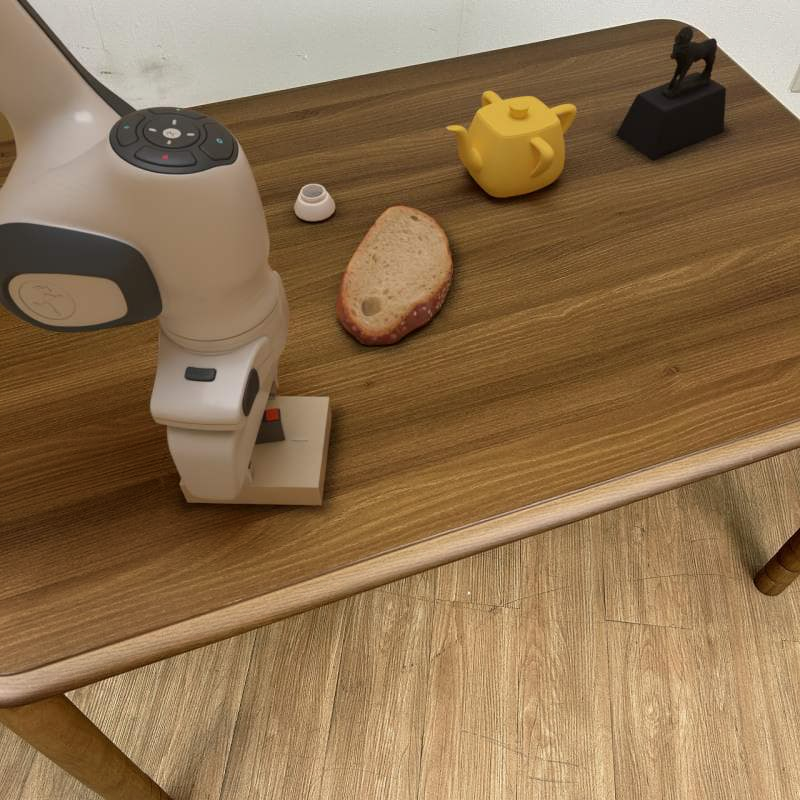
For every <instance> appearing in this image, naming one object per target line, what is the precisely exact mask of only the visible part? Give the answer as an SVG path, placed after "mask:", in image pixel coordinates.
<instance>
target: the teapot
mask: <svg viewBox="0 0 800 800" xmlns="http://www.w3.org/2000/svg"><path fill="white" fill-rule="evenodd" d="M577 111H578V109H577V107H576V105H574V104H572V103H564V104H560V105H559V104H558V105H557V106H554V107H551V108H550V107H548V106H547V105H546V103H544V102H543V101H541V100H540V99H538V98H537V97H535V96H532V95H529V96H528V95H524V96H523V95H522V96H516V97H509V98H506V99H502V98H501V97H500V96H499V95H498V94H497V93H496V92H494V91H492V90H486V91H484V92H483V93H482V95H481V108H479V109H478V110H477V111H476V113H475V115H474V117H473V119H472V121H471V122H470V125H469V128H468V130H467V129H466V128H465V127H464V126H462V125H458V124H452V125H448V126H446V128H445V129H446V130H448V131H450V132H452V133H454V134H455V135H456V139H457V151H458V153H457V154H458V157H459V160H460V162H461V163H462V164H463V166H464V167H465V168H466V170H467V172H468V174H469V175H470V176H471V178H472V179H473V180H474V181H475V183H477V184H478V186H479V187H480V188H481V189H482V190H484V192H485V193H487V194H488V195H489V196H491V197H494V198H509V197H515V196H521V195H527V194H529V193H532V192H535V191H538V190H540V189H543V188H545V187H547V186H549V185H550V184H553V183H554V182H555V181H556V180H557V179H558V178H559V176H560V175H561V174H562V172H563V170H564V168H565V158H566V146H565V145H566V143H565V139H564V138H565V137H564V135H565V134H566V132H567V131H568V130H569V129H570V127H571V126H572V124H573V122H574V121H575V118H576V116H577V113H578V112H577ZM559 116H561V119H560V118H559Z"/></svg>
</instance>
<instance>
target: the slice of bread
mask: <svg viewBox="0 0 800 800" xmlns="http://www.w3.org/2000/svg"><path fill="white" fill-rule="evenodd" d="M453 264H454V263H453V260H452V252H451V248H450V242H449V239H448V237H447V235H446V233H445V231H444V229H443V228H442V227H441V225H440V224H439V222H438V221H436V219H434V218H433V217H432V216H430V215H429V214H427V213H425V212H423V211H421V210H420V209H418V208H414V207H410V206H405V205H395V206H391V207H388V208H387V209H386V210H385V211H384V212H383V213H381V215H380V216H378V217H377V218H376V219H375V221H374V223H373V225H371V226H370V228H369V230H368V231H367V232H366V234H365V235H364V237H363V238H362V240H361V241H360V243H359V244H358V245H357V247H356V249H355V251H354V253H353V255H352V256H351V258H350V260H349V262H348V263H347V265H346V268H345V269H344V272H343V275H342V278H341V280H340V282H339V287H338V291H337V295H336V300H335V314H336V316H337V318H338V320H339V322H340V324H341V325H342V326H343V328H344V329H345V330H346V331H347V332H348V333H349V334H351V335H352V336H353V337H354V338H355V339H356V340H357V341H358V342H359V343H360V344H362V345H365V346H377V345H380V346H385V345H392V344H395V343H398V342H399V341H400V340H401V339H403V338H404V337H405V336H406V335H408V334H409V333H410V332H412V331H413V330H416V329H418V328H420V327H422V326H424V325H426V324H427V323H428V322H429V321H430V320H431V319H432V318H433V317H434V316H435V315H436V314H437V313H438V312H439V311H440V309H441V308H442V305H443V303H444V302H445V300H446V298H447V295H448V292H449V290H450V287H451V285H452V279H453V274H454V273H453V272H454V265H453Z"/></svg>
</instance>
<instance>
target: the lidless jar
mask: <svg viewBox="0 0 800 800" xmlns="http://www.w3.org/2000/svg"><path fill="white" fill-rule="evenodd" d="M293 210H294V214H295V215H296V216H297V217H298V218H299V219H301V220H303V221H306V222H318V221H319V222H320V221H323V220H326V219H328V218H330V217H331V216H332V214H334V213H335V210H336V203H335V200H334V199H333V197H332V196H331V195H330V194H329V192H328V191H327V190H326V188H325V186H323V185H322V184H319V183H309V184H306V185H304V186H302V187H301V189H300V191H299V193H298V195H297V198H296V200H295V202H294V206H293Z"/></svg>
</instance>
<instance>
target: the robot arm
mask: <svg viewBox="0 0 800 800" xmlns="http://www.w3.org/2000/svg"><path fill="white" fill-rule="evenodd" d="M0 113H1V114H2V115H3V117H5V119H6V121H7V122H8V124H9V126H10V128H11V131H12V134H13V138H14V142H15V148H16V149H15V150H16V151H15V152H16V158H15V160H14V162H13V164H12V166H11V169H10V171H9V172H8V175H7V177H6V179H5V181H4V183H3V185H2V186H1V187H0V305H1V306H3V308H5V309H6V310H8V311H9V312H10V313H11V314H13V315H14V316H16V317H18V319H21V320H23V321H24V322H26V323H28V324H30V325H33V326H34V327H37V328H40V329H42V330H46V331H49V332H56V333H66V334H67V333H70V334H71V333H72V334H73V333H74V334H75V333H76V334H77V333H88V332H89V333H90V332H96V331H97V332H98V331H102V330H110V329H115V328H116V329H117V328H121V327H122V328H123V327H126V326H127V327H128V326H133V325H136V324H141V323H145V322H148V321H152V320H153V319H156V318H157V320H158V323H159V325H160V329H158V336H157V337H158V339H157V340H158V341H157V343H158V354H157V365H156V371H155V377H154V381H153V388H152V391H151V397H150V400H149V401H150V402H149V411H150V414H151V417H152V418H153V420H154V422H155V423H156V424H159V425H164V426H166V440H167V445H168V446H167V447H168V449H169V452H170V453H169V454H170V456H171V458H172V460H173V463H174V465H175V467H176V470H177V472H178V474H179V477H180V480H181V479H182V481H183V483H184V484H185V486H186V488H187V490H188V491H189V492H190V493H191V494H192V495H193V496H196V497H199V498H204V499H211V500H232V499H235V498H237V497H238V496H239V495H240V493H241V490H242V486H243V487H249V486H251V483H252V480H253V476H254V472H255V469H254V466H253V463H252V462H251V461H250V458H251V455H252V452H253V448H254V445H255V441H256V438H257V434H258V431H259V428H260V424H261V421H262V417H263V414H264V410H265V407H266V403H267V400H274V399H275V398H276V396H277V395H278V391H279V388H280V385H279V380H278V369H279V368H278V367H279V362H280V358H281V355H282V354H283V352H284V350H285V349H286V346H287V342H288V331H289V327H290V320H291V319H290V317H291V314H290V313H291V312H290V311H291V310H290V306H289V301H288V298H287V294H286V290H285V286H284V283H283V280H282V278H281V275H280V273H279V272H278V271H277V270H273V267H271V265H270V263H269V254H270V248H271V247H270V246H271V242H270V241H271V240H270V234H269V228H268V223H267V219H266V215H265V211H264V207H263V203H262V198H261V196H260V191H259V188H258V185H257V182H256V179H255V176H254V173H253V170H252V167H251V165H250V161H249V159H248V157H247V156H246V153H245V151H244V149H243V147H242V145H241V144H240V142H239V141H238V139H237V137H235V135H233V133H232V132H231V131H230V130H229V129H228V127H226V126H225V125H223V124H222V123H221V122H220V121H219V120H217V119H216V118H213V117H212V116H210V115H208V114H205V113H203V112H200V111H197V110H193V109H190V108H185V107H177V106H154V107H153V106H152V107H146V108H142V109H136V108H134V107H133V106H132V105H131V104H129V103H128V102H127V101H126V100H125V99H123V97H120V96H119V95H117V94H116V93H115V92H113V91H112V90H111V89H109V88H108V87H107V86H106V85H105V84H103V83H102V82H101V81H100V80H98V78H96V77H95V76H94V75H93V74H92V73H91V72H90V71H89V70H87V69H86V67H85V66H83V64H82V63H81V62H80V61H79V60H78V59H77V58H76V57H75V55H73V53H72V52H71V51H70V50H69V48H68V47H67V46H66V45H65V44H64V43H63V41H62V40H61V38H60V37H58V35H57V34H56V33H55V32H54V30H53V29H52V28H51V27H50V26H49V25H48V23H46V21H45V20H44V19H43V17H42V16H41V15H40V14H39V13H38V12H37V10H36V9H35V8H34V7H33V6H32V4H31V3H30V2H29V1H28V0H0Z"/></svg>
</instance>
